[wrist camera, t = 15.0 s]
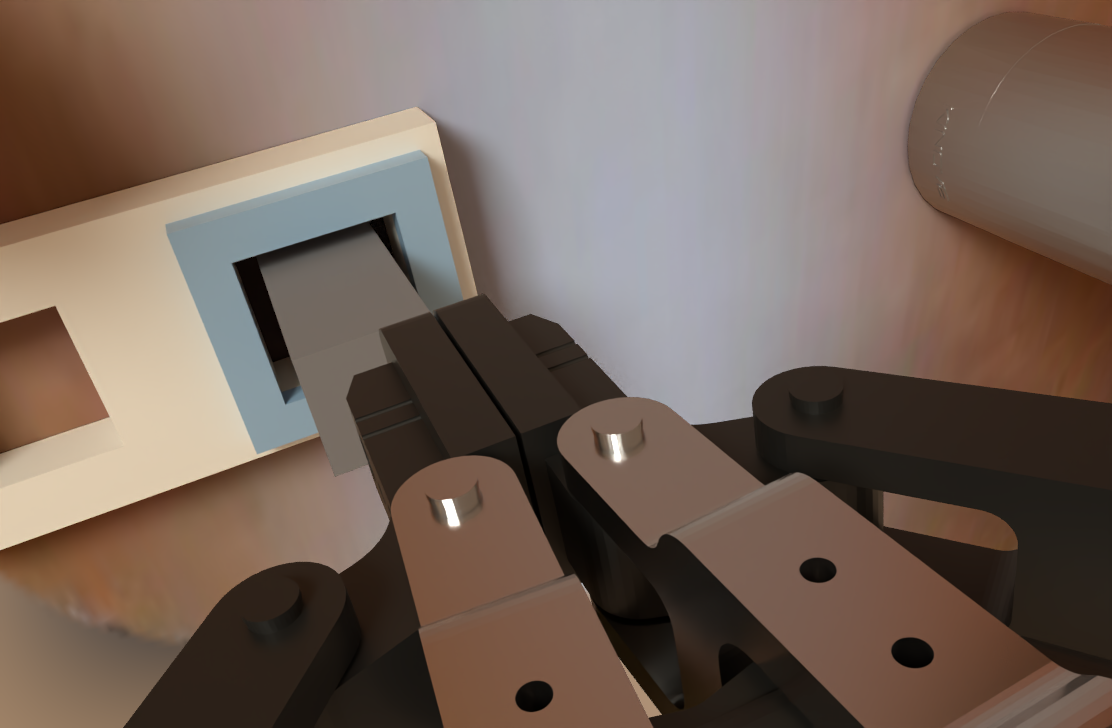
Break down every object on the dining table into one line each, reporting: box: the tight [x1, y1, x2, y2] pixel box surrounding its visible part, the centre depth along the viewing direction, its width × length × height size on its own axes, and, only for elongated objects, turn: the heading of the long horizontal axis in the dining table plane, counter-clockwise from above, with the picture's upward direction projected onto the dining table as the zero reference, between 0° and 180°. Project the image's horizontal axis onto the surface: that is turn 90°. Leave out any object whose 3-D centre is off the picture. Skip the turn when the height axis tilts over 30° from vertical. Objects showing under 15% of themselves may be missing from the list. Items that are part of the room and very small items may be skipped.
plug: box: [256, 221, 430, 477], centre depth 32 cm, size 4×4×10 cm
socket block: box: [0, 107, 478, 550], centre depth 34 cm, size 21×10×4 cm, turn 102°
